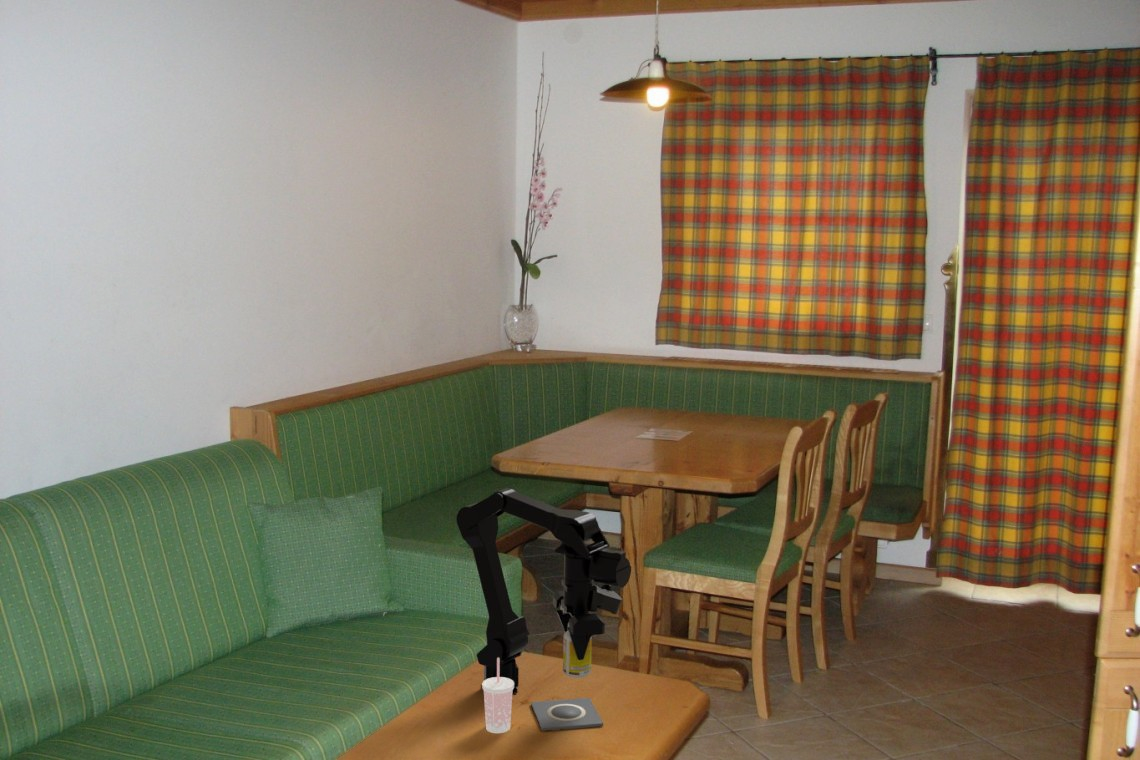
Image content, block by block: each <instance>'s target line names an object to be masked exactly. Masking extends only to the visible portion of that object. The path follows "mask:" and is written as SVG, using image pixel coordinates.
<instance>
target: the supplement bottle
mask: <svg viewBox="0 0 1140 760" xmlns="http://www.w3.org/2000/svg"><path fill="white" fill-rule="evenodd" d="M568 627H569V623H568ZM592 636H593V635H592ZM592 636H591V638H590V641H589V644H588V647H587V650H586V653H585V656H584V659H583V660H578V658H577V656H576V653H575V650H574V647H573V644H572V641H571V638H570V636H569V633H568V631H566V632H564V633H563V641H562V642H563V644H562V646H563V649H562V650H563V651H562V657H563V658H562V672H563V674H564V675H565V676H566V677H569V678H573V679H574V678H575V679H580V678H586V677H588V676H589V675H590V674H591V672H592V639H593V638H592Z"/></svg>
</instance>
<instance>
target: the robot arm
mask: <svg viewBox="0 0 1140 760" xmlns="http://www.w3.org/2000/svg"><path fill="white" fill-rule="evenodd" d="M505 513H506V514H508V515H511V516H514V517H516V518H519V519H520V520H523V521H526V522H529V523H531V524H533V525H536V526H538V527H540V528H543V529H545V530H547V531H549V532H551V534H552V536H553V537H554V538H555V539H556V540H558V541H559V542H561V544H560V545H559V546H558V547H556V548H555V549H554V553H555V554H559V555H563V558H564V560H563V561H564V562H563V565H564V566H563V579H561V586H562V587H563V590H557V591H556V592H555V593H554V594H553V595H552V605H553V607H554V608H555V609H556V614H557V617H558V620H559V621H560V625H561V626H562V629H563V631H564V633H565V632H566V631H568V633H569V636H570V638H571V641H572V644H573V647H574V650H575V653H576V656H577V658H578V660H583V659H584V656H585V653H586V650H587V647H588V644H589V641H590V638H591V636H596V635H597V636H599V635H603V634H605V631H606V629H605V628H606V626H605V625H606V623H605V622H604V621H603V619H602V618H601V617H600V616H599V615H598V614H597V613H596V612H598V609H600V610H603V611H605V612H609V613H611V614H612V615H617V614H618V612H619V609H620V606H621V604H622V601H623V598H622V597H621V596H620V595H619V594H618V593H617V592H616V591H614V590H612V587H615V588H616V587H617V588H620V589H623V588H624V587H626V585H627V584H628V583H629V581H630V578H631V575H632V574H631V573H632V566H631V563H630V560H629V558H627V557H626V556H627V555H626V551H624V550H615V549H609V548H610V544H609V542H608V540H607V538H606V536H605V535H604V533H603V531H602V530H601V528H600V525H599V522H598V520H597V517H596V516H595V514H593V513H591V512H588V511H584V510H579V509H563V508H559V507H556V506H553V505H550V504H548V503H546V502H543V501H540V500H538V499H535V498H532V497H530V496H528V495H525V494H523V493H520V492H518V491H516V490H515V489H513V488H509V487H507V488H504V489H500V490H497V491H495V492H493V493H492V494H491V495H489V496H488V497H486V498H484V499H482V500H481V501H478V502H475V503H472V504H469V505H465V506H463V507H461V508H460V509H459V510H458V512H457V514H456V517H455V520H456V524H457V525H456V526H457V527H458V530H459V532H460V536H461V537H462V539H463V540H464V542H465V543H466V544H467V545H468V546H469V547H470V548H471V551H472V552H473V557H474V562H475V565H476V569H477V572H478V573H477V574H478V578H479V580H480V586H481V589H482V593H483V598H484V601H485V605H486V609H487V613H488V620H487V623H486V624H487V625H486V630H485V637H486V645H485V646H484V647H483V648H482V649H481V650H479V651H478V652H477V653H476V658H477V661H478V664H479V665H481V666H483V681H484V680H486V679H488V678H492V677H497V658H500V670H499V677H505V678H509V679H511V680H513V682H514V688H513V692H512V694H517V693H518V687H519V671H520V670H519V669H520V668H519V667H518V664H517V661H516V658H520V657H521V656H522V653H523V651H524V650H525V649H526V647H527V646H528V644H529V637H528V636H530V634H531V633H530V632H529V631H528V630H529V629H528V627H527V623H526V622H527V621H526V618H525V616H524V615H522V616H520V617H519V616H518V615H517V613H515V611H514V610H513V608H512V604H511V599H510V596H509V592H508V587H507V584H506V580H505V575H504V572H503V569H502V563H501V560H500V556H499V553H498V548H497V543H496V542H497V537H498V532H499V528H500V527H499V521H498V518H499V517H500V516H502V515H504V514H505ZM589 542H592V543H590V544H587V543H589ZM586 544H587V545H586ZM595 583H596V584H597V583H598V585H596V584H595ZM559 608H560V609H559ZM589 612H591V613H589ZM593 612H594V613H593ZM568 623H569V627H568Z"/></svg>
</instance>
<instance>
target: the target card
mask: <svg viewBox="0 0 1140 760" xmlns="http://www.w3.org/2000/svg"><path fill="white" fill-rule="evenodd" d="M530 705H531V707H532V708H533V709H532V711H533V713H534V715H536V716H535V718H536V717H537V718H536V720H538V721H537V723H538V722H539V723H538V725H539V727H541V728H540V730H541V732H547V731H546V730H552V731H561V730H560V729H564V730H573V729H585V728H586V729H588V728H598V727H604V722H603V719H602V718H601V716H600V715H599V713H598V711H597V710H596V709H597V708H595V706H594V704H593V701H592V700H591V699H590V697H580V698H579V697H578V698H568V699H555V700H553V699H552V700H543V701H542V700H541V701H531V702H530Z"/></svg>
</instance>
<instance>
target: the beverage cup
mask: <svg viewBox="0 0 1140 760" xmlns="http://www.w3.org/2000/svg"><path fill="white" fill-rule="evenodd" d="M499 670H500V658H497V677H492V678H488V679H486V680H484V679H483V681H482V683H481V685H482V687H481V688H482V691H483V700H484V715H485V717H484V718H485V719H484V720H485V728H486V731H487V732H489V733H492V734H504V733H507V732H509V731H510V729H511V721H512V720H511V719H512V706H513V705H512V704H513V693H512V692H513V688H514V682H513V680H511V679H509V678H505V677H499Z"/></svg>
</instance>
